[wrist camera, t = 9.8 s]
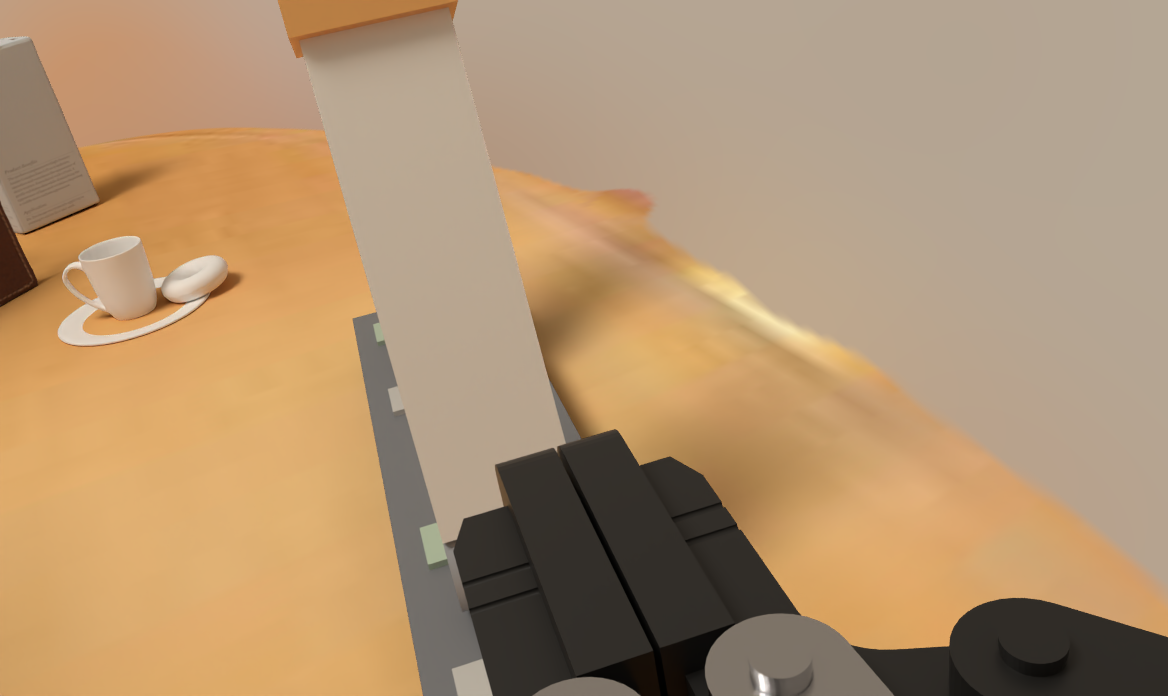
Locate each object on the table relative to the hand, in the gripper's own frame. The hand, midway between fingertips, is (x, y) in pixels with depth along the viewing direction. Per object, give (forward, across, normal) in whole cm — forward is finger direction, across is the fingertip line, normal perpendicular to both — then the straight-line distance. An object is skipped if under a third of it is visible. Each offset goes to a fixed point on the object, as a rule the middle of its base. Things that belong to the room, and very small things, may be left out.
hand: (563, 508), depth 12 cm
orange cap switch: (+11, 0, +10) cm, 15 cm away
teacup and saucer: (+43, +12, +14) cm, 47 cm away
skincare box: (+68, +23, +14) cm, 73 cm away
